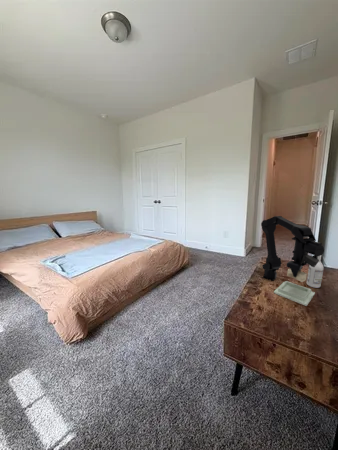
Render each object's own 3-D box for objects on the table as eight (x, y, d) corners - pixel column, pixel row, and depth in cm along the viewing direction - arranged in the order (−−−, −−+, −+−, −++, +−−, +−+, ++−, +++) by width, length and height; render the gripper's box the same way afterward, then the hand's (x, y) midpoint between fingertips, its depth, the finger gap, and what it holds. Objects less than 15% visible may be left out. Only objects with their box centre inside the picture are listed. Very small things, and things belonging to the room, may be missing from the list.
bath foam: (322, 286, 116) (328, 255, 111) (316, 289, 113) (321, 258, 108) (310, 281, 122) (315, 252, 117) (304, 283, 119) (308, 254, 114)
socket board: (273, 293, 110) (274, 288, 109) (283, 283, 120) (284, 279, 119) (306, 306, 98) (307, 301, 97) (314, 294, 108) (315, 289, 107)
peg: (286, 275, 109) (287, 269, 108) (291, 274, 111) (292, 267, 110) (301, 281, 102) (302, 275, 101) (305, 280, 104) (306, 273, 103)
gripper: (313, 258, 91) (308, 287, 94) (322, 249, 103) (318, 275, 106) (287, 252, 99) (284, 279, 103) (299, 244, 111) (295, 268, 115)
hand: (296, 275), depth 106 cm, fingers closed on peg, 4 cm apart
